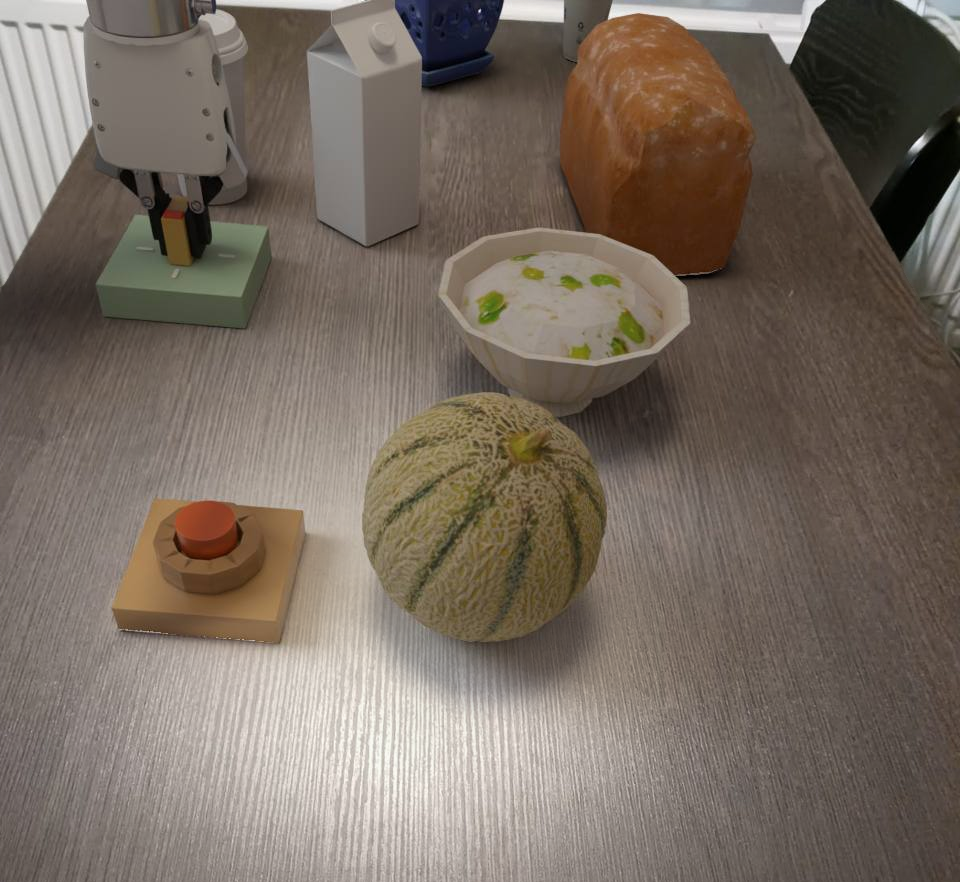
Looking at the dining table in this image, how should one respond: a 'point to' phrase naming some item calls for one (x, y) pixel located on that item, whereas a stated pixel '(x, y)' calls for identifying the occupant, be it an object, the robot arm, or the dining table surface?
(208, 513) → the bell button
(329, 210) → the milk carton
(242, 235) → the plate
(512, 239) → the bowl
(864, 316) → the dining table surface
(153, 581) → the tan square stand
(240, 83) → the coffee cup
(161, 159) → the robot arm
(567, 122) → the bread
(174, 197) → the wooden block red tab
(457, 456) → the cantaloupe
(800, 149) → the dining table surface
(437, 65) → the flower pot
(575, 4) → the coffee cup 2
